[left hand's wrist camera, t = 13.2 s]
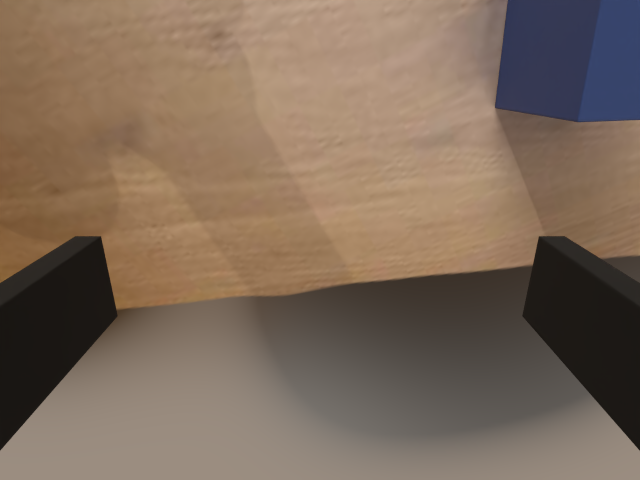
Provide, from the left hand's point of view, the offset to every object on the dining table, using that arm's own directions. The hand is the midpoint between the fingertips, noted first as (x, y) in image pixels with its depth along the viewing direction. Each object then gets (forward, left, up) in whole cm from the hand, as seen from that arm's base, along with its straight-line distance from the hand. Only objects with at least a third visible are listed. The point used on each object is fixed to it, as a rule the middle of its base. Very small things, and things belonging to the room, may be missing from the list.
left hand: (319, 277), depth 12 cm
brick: (+16, +9, -20) cm, 27 cm away
